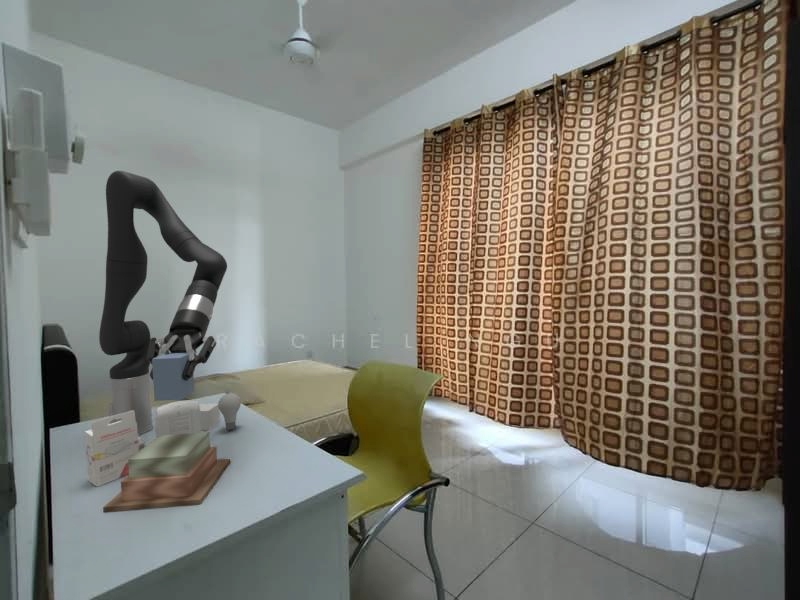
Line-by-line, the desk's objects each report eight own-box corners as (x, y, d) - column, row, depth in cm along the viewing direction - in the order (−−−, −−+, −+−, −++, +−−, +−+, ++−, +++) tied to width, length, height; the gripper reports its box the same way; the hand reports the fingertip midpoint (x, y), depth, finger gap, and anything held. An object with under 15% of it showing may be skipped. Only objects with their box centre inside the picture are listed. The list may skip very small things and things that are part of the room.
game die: (144, 444, 97) (144, 434, 96) (145, 449, 94) (144, 438, 94) (128, 448, 94) (127, 438, 94) (128, 454, 92) (127, 442, 91)
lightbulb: (216, 430, 105) (214, 394, 104) (237, 423, 110) (235, 389, 109) (224, 436, 101) (222, 398, 100) (245, 429, 105) (243, 393, 105)
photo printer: (201, 438, 100) (198, 395, 99) (202, 444, 96) (200, 400, 96) (157, 448, 94) (154, 403, 93) (157, 455, 91) (154, 408, 90)
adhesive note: (189, 430, 105) (188, 411, 105) (201, 422, 111) (200, 403, 111) (209, 430, 105) (208, 410, 105) (220, 422, 111) (219, 403, 111)
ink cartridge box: (132, 463, 86) (127, 405, 86) (141, 469, 84) (137, 409, 83) (87, 481, 79) (82, 417, 78) (95, 488, 77) (90, 422, 76)
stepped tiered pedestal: (103, 512, 68) (100, 467, 68) (152, 468, 84) (149, 431, 84) (200, 504, 70) (198, 460, 70) (230, 462, 86) (228, 426, 86)
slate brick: (154, 400, 74) (151, 359, 73) (168, 392, 79) (166, 353, 79) (182, 399, 75) (179, 358, 74) (194, 391, 80) (192, 352, 79)
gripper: (154, 308, 82) (124, 372, 71) (219, 307, 84) (199, 369, 73) (168, 327, 88) (141, 389, 77) (228, 326, 90) (210, 386, 79)
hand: (169, 379), depth 75 cm, fingers closed on slate brick, 5 cm apart
